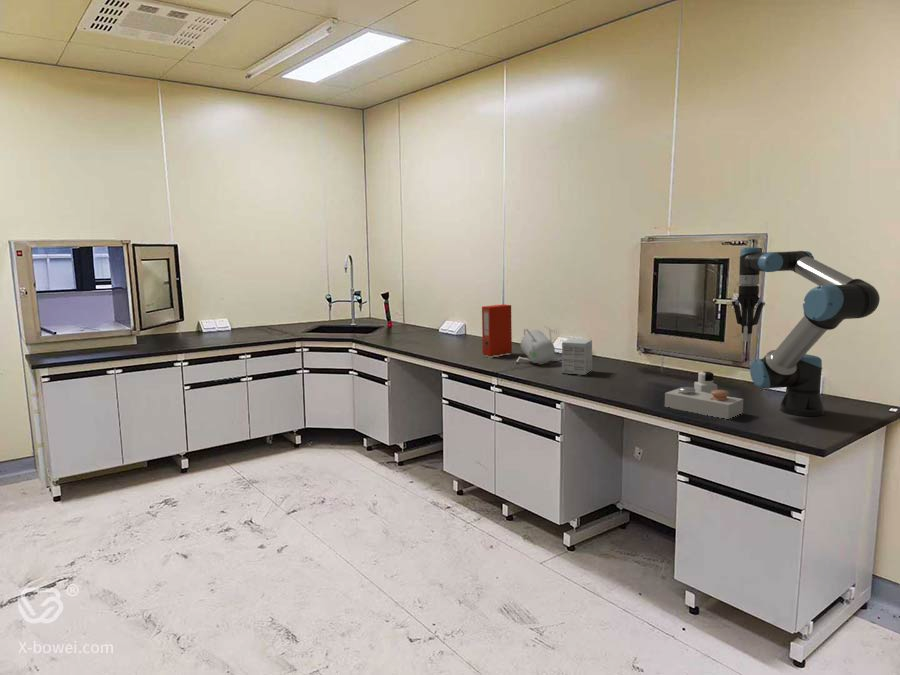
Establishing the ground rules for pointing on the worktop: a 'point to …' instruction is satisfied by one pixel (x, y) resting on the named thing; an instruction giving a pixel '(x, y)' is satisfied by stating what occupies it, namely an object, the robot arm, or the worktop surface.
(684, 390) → the metal plug
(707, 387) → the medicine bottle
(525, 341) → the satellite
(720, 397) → the terracotta plug
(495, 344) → the file binder
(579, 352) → the supplement box
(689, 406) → the block
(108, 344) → the worktop surface
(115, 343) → the worktop surface
